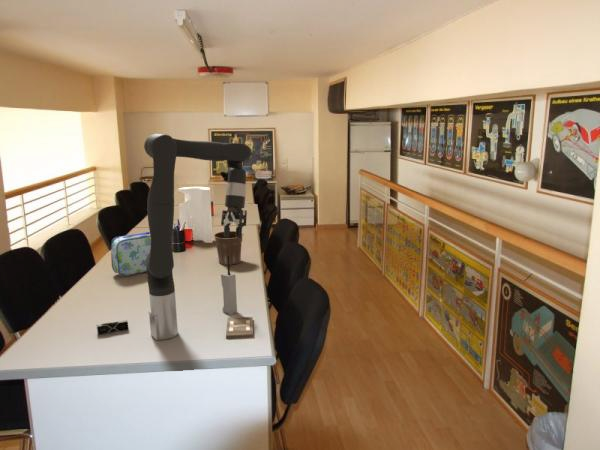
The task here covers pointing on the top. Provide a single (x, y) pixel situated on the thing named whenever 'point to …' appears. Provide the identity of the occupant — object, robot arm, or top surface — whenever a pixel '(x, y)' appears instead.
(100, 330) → the graphics card
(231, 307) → the vintage mobile phone
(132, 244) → the lunch box
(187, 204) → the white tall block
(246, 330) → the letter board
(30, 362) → the top surface
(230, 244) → the plant pot
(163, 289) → the robot arm
